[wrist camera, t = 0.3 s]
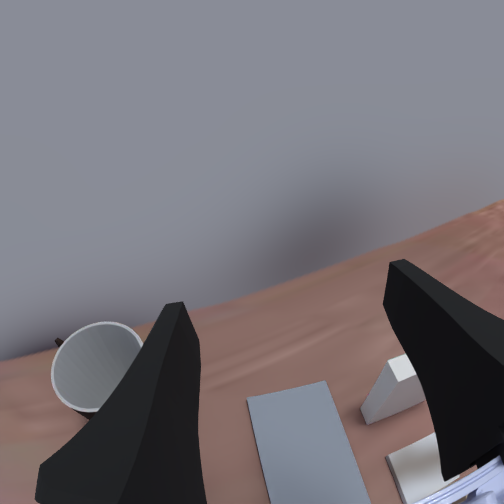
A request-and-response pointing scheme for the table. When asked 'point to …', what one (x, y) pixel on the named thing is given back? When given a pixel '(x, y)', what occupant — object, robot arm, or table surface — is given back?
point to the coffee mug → (93, 364)
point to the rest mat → (305, 448)
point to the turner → (419, 470)
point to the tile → (393, 390)
